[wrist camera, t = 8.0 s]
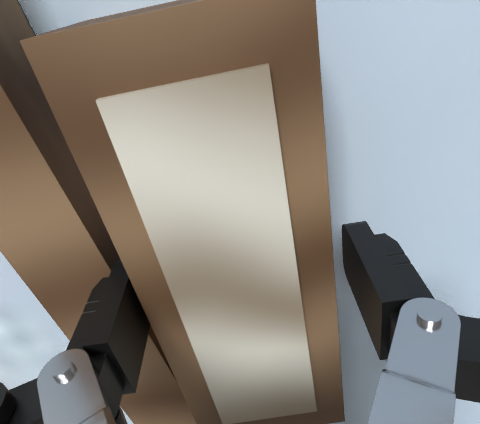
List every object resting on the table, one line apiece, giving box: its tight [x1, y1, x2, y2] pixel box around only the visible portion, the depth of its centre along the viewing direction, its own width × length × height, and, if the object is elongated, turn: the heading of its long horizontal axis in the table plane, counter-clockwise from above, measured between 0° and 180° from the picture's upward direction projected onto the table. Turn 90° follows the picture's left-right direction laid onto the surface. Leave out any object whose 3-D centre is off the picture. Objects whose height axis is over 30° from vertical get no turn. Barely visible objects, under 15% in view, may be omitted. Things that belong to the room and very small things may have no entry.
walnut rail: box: [0, 0, 196, 424], centre depth 14 cm, size 30×3×4 cm, turn 15°
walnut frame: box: [20, 0, 345, 424], centre depth 14 cm, size 16×6×5 cm, turn 11°
